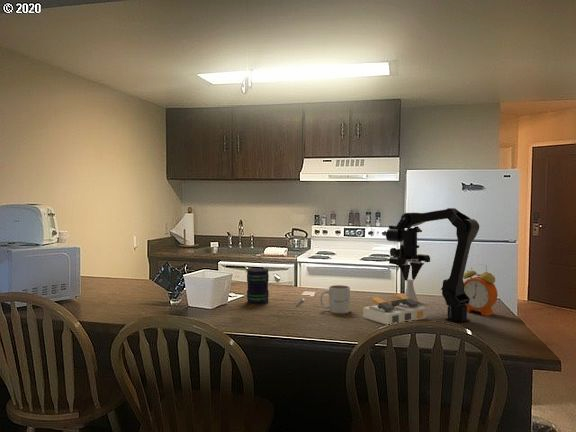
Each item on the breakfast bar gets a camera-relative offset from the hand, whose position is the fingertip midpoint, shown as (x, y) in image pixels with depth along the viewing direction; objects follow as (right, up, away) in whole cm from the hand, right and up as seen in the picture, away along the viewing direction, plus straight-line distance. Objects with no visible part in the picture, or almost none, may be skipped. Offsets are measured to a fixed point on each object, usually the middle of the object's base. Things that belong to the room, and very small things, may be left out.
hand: (409, 280), depth 198 cm
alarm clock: (+28, -13, -2) cm, 31 cm away
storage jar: (-65, -13, +17) cm, 68 cm away
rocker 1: (-15, -9, -14) cm, 22 cm away
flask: (+5, -13, +19) cm, 23 cm away
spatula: (-44, -13, +23) cm, 51 cm away
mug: (-31, -13, +1) cm, 34 cm away
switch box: (-9, -13, -11) cm, 19 cm away
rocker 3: (-4, -9, -7) cm, 12 cm away
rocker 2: (-9, -9, -11) cm, 17 cm away
